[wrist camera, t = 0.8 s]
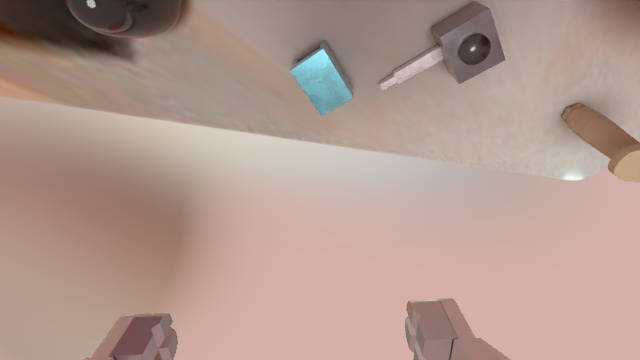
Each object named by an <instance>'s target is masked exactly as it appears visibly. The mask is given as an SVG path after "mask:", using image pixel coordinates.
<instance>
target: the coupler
mask: <svg viewBox="0 0 640 360" xmlns="http://www.w3.org/2000/svg"><path fill="white" fill-rule="evenodd" d="M430 29H431V31H432V34H433V36H434V38H435V41H436V43H437V45H436V46H434V47H433V48H431V49H429V50H427V51H426V52H424V53H422V54H421V55H419V56H417V57H415V58H414V59H412V60H410V61H409V62H407V63H405V64H403V65H402V66H400V67H398V68H397V69H395V70H393V71H392V72H393V74H391V75H390V76H388V77H386V78H384V79H383V80H381V81H379V86H380V88H381V89H382V91H383V90H385V89H386V88H388V87H390V86H392V85H393V84H395V83H397V82H398V84H400V83H402V82H404V81H406V80H407V79H409V78H411V77H413V76H414V75H416V74H418V73H420V72H421V71H423V70H425V69H427V68H429V67H430V66H432V65H434V64H436V63H437V62H439V61H441V60H444V62H445V65H446V67H447V69H448V71H449V73H450V74H451V75H452V76H453V77H454V79H455V80H456V81H457V82H458V83H459V84H460V83H462V82H464V81H466V80H468V79H470V78H472V77H474V76H476V75H478V74H479V73H481V72H483V71H485V70H487V69H489V68H491V67H493V66H495V65H497V64H498V63H500V62H502V61H504V60H505V57H504V53H503V50H502V47H501V44H500V40H499V37H498V34H497V31H496V28H495V24H494V21H493V18H492V15H491V12H490V8H488V7H485V6H483V5H481V4H479V3H476V2H472V3H471V4H469V5H467V6H466V7H464V8H462V9H461V10H459V11H457V12H456V13H454V14H453V15H451V16H449V17H448V18H446V19H444V20H443V21H441V22H439V23H438V24H436V25H434V26H433V27H431V28H430Z"/></svg>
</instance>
